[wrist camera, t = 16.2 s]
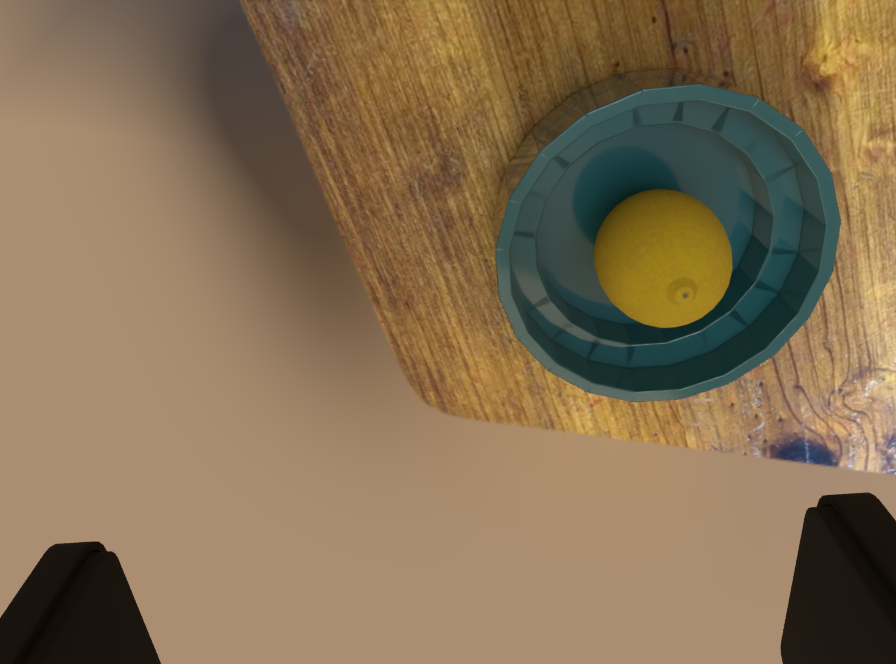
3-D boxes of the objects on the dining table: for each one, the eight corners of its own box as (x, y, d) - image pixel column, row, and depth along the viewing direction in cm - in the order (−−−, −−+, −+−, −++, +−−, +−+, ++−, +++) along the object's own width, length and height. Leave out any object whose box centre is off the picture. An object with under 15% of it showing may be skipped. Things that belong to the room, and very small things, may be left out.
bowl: (502, 358, 39) (506, 410, 34) (483, 84, 32) (485, 104, 28) (773, 340, 37) (813, 391, 33) (810, 52, 31) (866, 68, 27)
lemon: (637, 300, 36) (677, 383, 29) (558, 230, 34) (580, 301, 27) (724, 221, 34) (790, 289, 27) (645, 143, 32) (693, 195, 25)
